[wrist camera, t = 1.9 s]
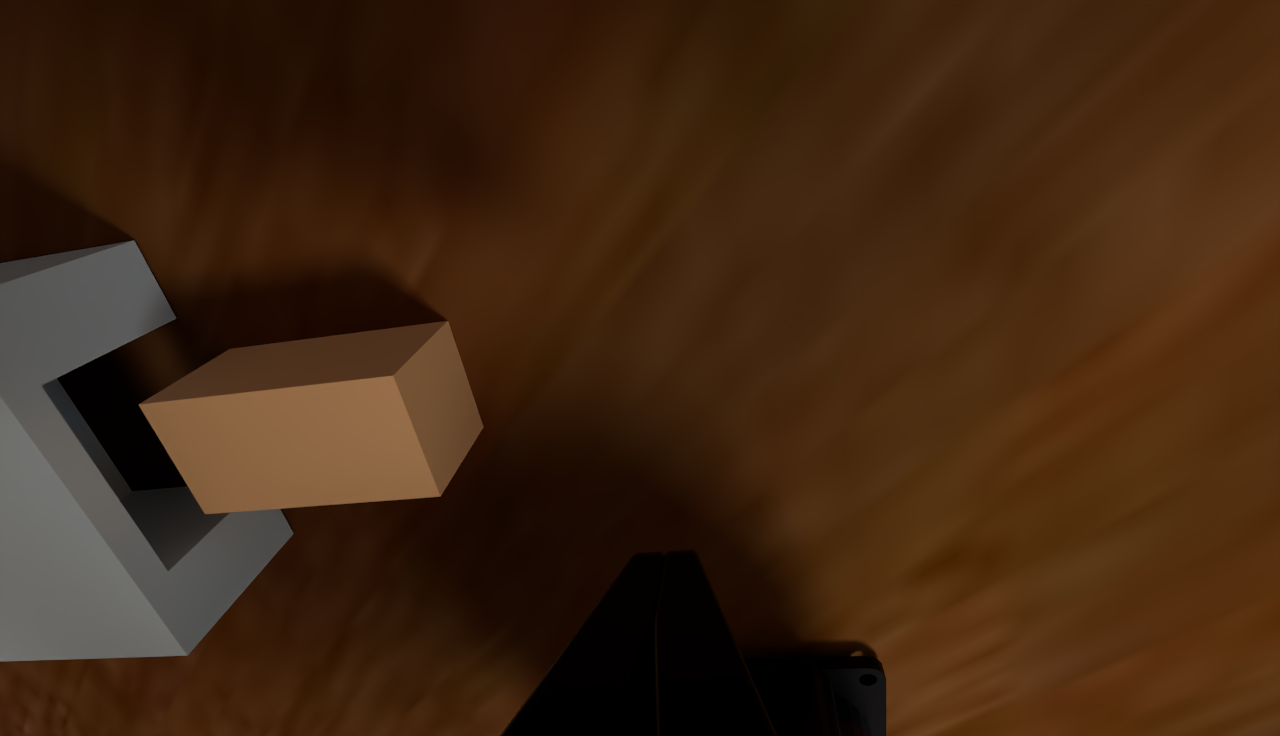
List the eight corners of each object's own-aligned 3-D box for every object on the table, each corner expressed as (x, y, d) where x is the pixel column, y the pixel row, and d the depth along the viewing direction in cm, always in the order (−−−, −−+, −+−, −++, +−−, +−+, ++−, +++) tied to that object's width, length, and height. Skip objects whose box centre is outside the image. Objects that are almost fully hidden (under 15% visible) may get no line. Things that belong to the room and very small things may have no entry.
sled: (294, 533, 18) (187, 655, 15) (99, 546, 20) (-44, 662, 16) (134, 240, 15) (-65, 305, 11) (-96, 279, 16) (-346, 350, 12)
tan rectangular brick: (485, 423, 16) (440, 496, 13) (284, 442, 17) (205, 514, 14) (450, 318, 15) (393, 375, 12) (235, 345, 16) (138, 404, 13)
